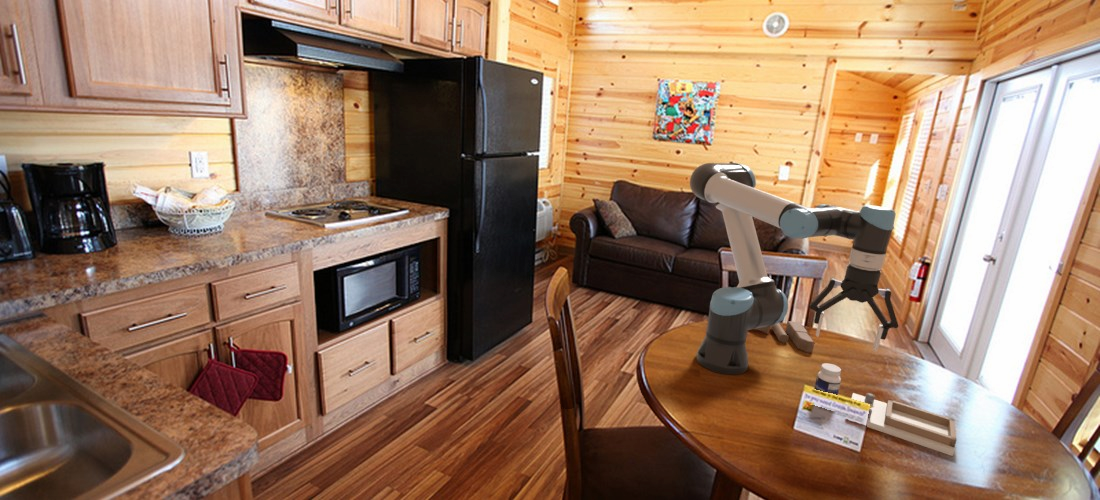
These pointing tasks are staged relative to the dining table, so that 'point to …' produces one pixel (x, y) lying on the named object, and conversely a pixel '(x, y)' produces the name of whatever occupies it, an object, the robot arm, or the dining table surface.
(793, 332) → the wooden block set
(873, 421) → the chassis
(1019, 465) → the dining table surface
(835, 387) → the pill bottle
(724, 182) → the robot arm
